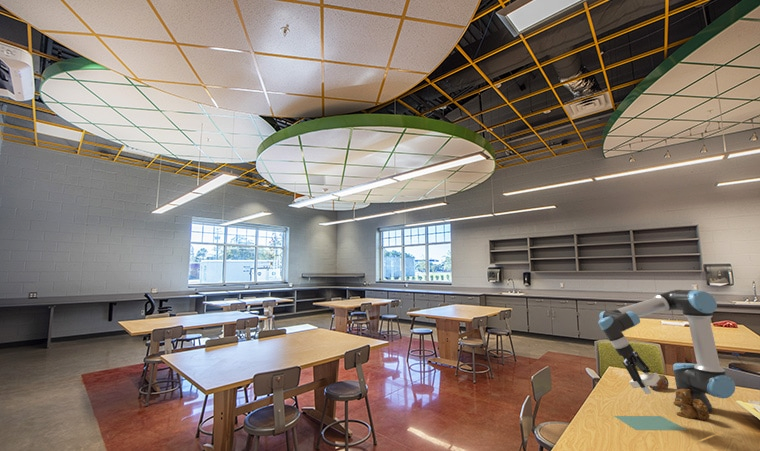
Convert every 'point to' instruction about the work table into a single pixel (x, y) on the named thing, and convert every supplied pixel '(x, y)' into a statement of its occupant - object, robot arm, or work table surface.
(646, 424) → the mat
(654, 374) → the card box
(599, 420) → the work table surface
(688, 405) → the stuffed squirrel
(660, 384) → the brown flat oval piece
